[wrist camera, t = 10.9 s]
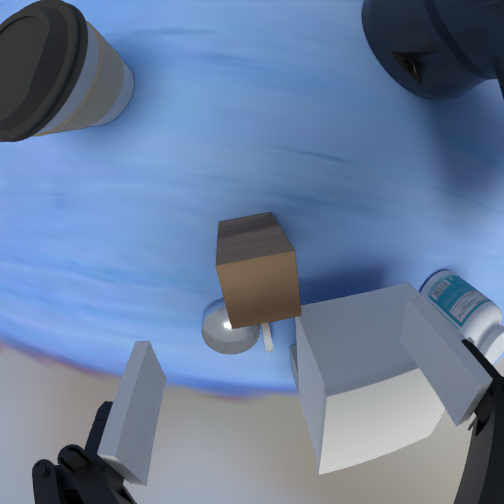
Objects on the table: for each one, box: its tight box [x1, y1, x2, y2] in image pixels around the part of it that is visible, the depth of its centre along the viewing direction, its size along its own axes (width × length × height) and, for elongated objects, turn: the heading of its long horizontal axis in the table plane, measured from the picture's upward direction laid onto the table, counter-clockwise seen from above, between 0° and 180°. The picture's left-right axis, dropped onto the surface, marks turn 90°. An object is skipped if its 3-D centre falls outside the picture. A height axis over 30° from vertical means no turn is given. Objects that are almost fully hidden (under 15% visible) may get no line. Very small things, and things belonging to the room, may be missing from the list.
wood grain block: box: [216, 212, 302, 352], centre depth 25 cm, size 14×5×10 cm, turn 10°
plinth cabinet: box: [290, 282, 476, 475], centre depth 25 cm, size 13×12×16 cm
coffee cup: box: [0, 0, 134, 142], centre depth 14 cm, size 9×9×15 cm
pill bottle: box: [420, 270, 504, 364], centre depth 27 cm, size 8×7×14 cm
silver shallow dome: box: [202, 298, 260, 354], centre depth 30 cm, size 6×6×2 cm
